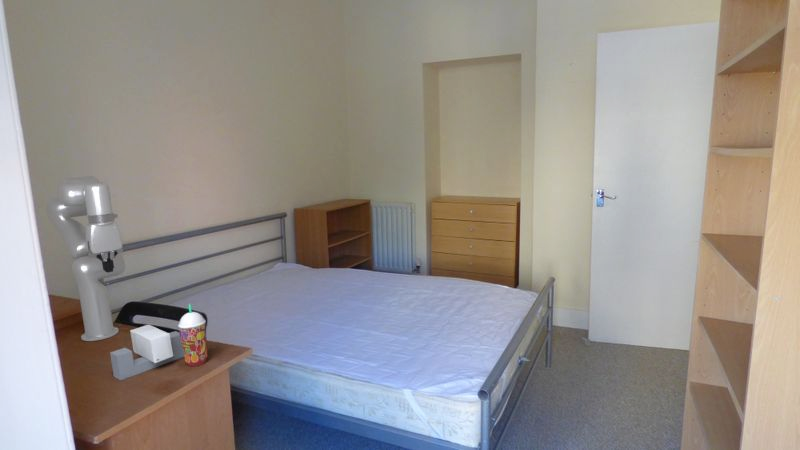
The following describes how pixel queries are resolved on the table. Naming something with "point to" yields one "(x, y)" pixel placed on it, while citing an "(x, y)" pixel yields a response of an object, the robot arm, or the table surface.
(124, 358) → the u rest
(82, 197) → the robot arm
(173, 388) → the table surface
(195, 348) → the smoothie
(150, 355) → the skincare box
